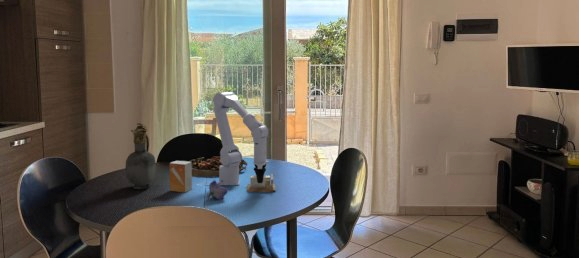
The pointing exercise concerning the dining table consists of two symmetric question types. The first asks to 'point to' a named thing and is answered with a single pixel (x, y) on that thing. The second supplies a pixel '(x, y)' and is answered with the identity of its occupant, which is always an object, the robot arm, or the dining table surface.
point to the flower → (216, 190)
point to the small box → (180, 176)
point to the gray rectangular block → (255, 184)
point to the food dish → (210, 167)
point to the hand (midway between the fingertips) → (260, 180)
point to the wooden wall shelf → (268, 188)
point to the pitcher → (140, 160)
